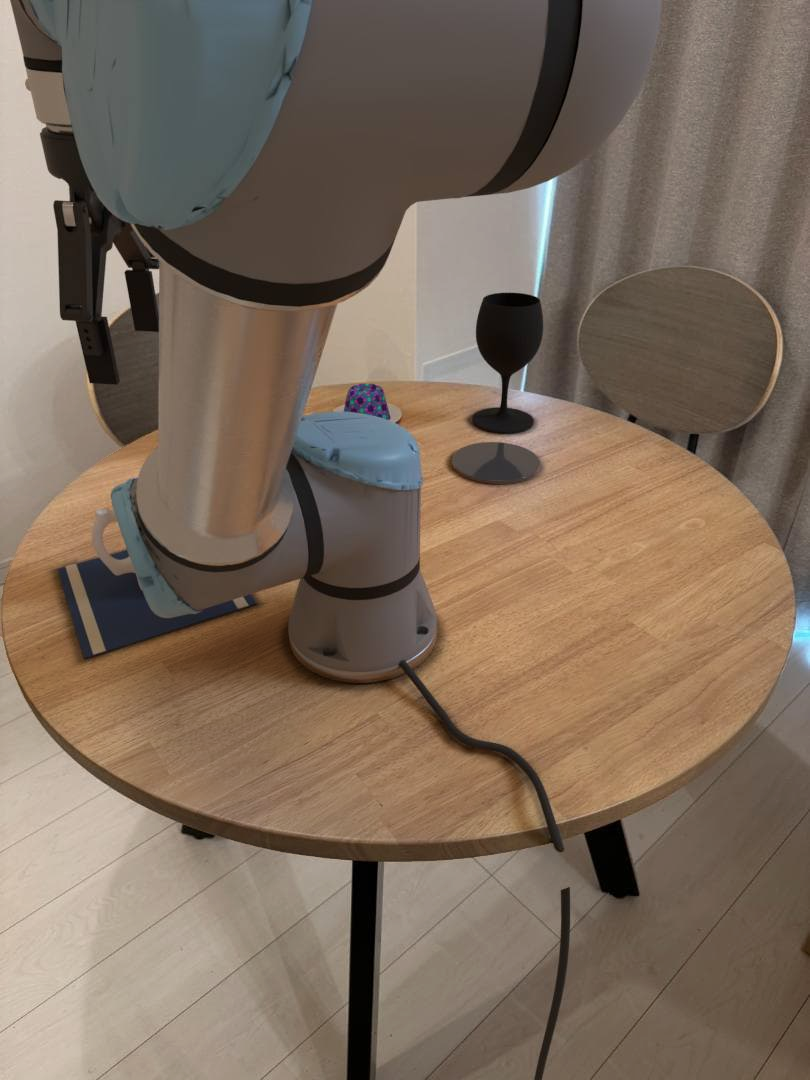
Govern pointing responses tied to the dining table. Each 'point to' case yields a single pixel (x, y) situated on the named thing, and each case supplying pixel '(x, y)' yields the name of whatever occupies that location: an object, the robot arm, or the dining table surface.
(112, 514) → the mug
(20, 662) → the dining table surface
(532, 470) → the coaster
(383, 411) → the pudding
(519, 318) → the wine glass
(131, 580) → the placemat
